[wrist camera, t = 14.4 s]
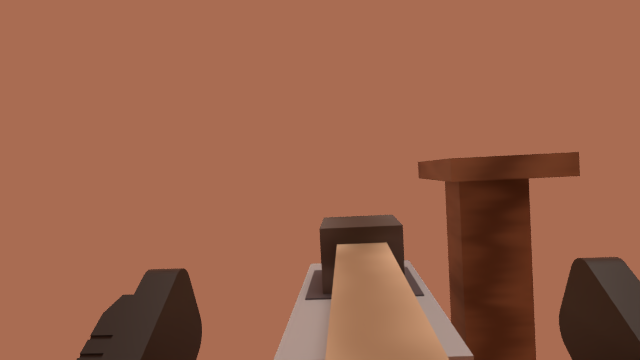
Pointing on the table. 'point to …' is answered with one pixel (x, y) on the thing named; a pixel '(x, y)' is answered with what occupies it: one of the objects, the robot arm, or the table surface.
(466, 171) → the stamp rack
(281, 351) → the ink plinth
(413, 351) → the stamp
